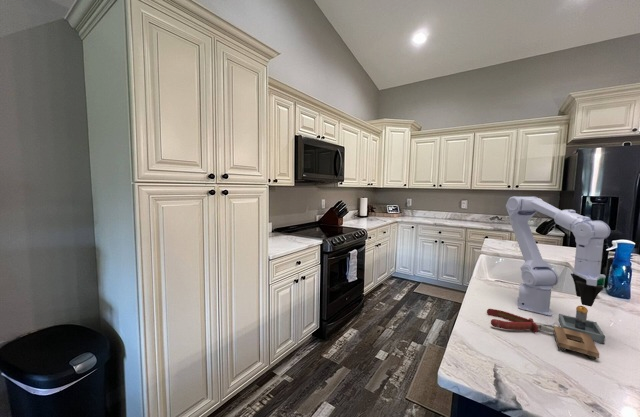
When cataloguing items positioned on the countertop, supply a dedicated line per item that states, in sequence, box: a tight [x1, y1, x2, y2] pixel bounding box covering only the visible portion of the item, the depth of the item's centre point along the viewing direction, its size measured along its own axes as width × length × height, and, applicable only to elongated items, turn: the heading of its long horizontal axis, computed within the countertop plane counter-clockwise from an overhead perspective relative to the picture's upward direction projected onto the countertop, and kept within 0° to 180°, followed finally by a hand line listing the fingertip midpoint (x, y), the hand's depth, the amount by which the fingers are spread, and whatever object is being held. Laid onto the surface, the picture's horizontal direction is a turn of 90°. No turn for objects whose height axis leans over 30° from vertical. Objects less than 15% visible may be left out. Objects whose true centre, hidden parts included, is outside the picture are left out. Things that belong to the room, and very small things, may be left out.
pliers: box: [486, 308, 555, 334], centre depth 84 cm, size 12×20×3 cm, turn 63°
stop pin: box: [575, 305, 589, 330], centre depth 82 cm, size 3×3×8 cm
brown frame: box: [553, 325, 600, 360], centre depth 75 cm, size 8×11×2 cm
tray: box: [557, 313, 606, 345], centre depth 83 cm, size 9×10×2 cm
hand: (583, 301), depth 81 cm, fingers open, 7 cm apart
